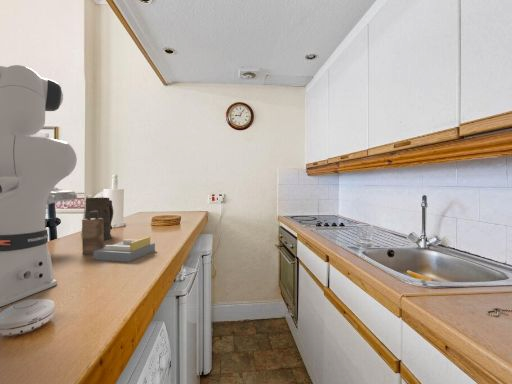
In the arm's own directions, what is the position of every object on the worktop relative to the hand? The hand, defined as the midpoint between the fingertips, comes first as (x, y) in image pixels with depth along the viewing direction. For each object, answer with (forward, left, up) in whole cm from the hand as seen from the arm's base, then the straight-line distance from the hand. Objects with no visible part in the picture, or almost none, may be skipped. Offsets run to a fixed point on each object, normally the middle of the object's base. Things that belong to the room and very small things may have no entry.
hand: (65, 197), depth 110 cm
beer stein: (+26, +1, -21) cm, 33 cm away
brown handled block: (-2, -12, -21) cm, 24 cm away
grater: (+38, +11, -21) cm, 45 cm away
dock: (-5, -26, -21) cm, 34 cm away
